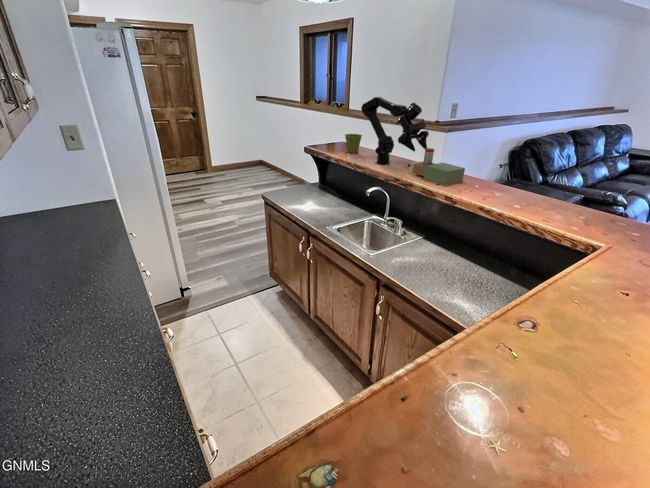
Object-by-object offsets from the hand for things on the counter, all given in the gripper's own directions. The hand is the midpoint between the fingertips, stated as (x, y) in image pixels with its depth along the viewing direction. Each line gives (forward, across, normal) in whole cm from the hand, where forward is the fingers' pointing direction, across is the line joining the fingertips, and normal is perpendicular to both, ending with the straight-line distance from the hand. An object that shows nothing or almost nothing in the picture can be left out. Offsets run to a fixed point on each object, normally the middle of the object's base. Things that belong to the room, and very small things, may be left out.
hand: (420, 150), depth 184 cm
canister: (+11, 0, +3) cm, 12 cm away
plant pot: (-35, +4, +52) cm, 62 cm away
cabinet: (+21, 0, -3) cm, 21 cm away
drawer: (+11, 0, +5) cm, 12 cm away
